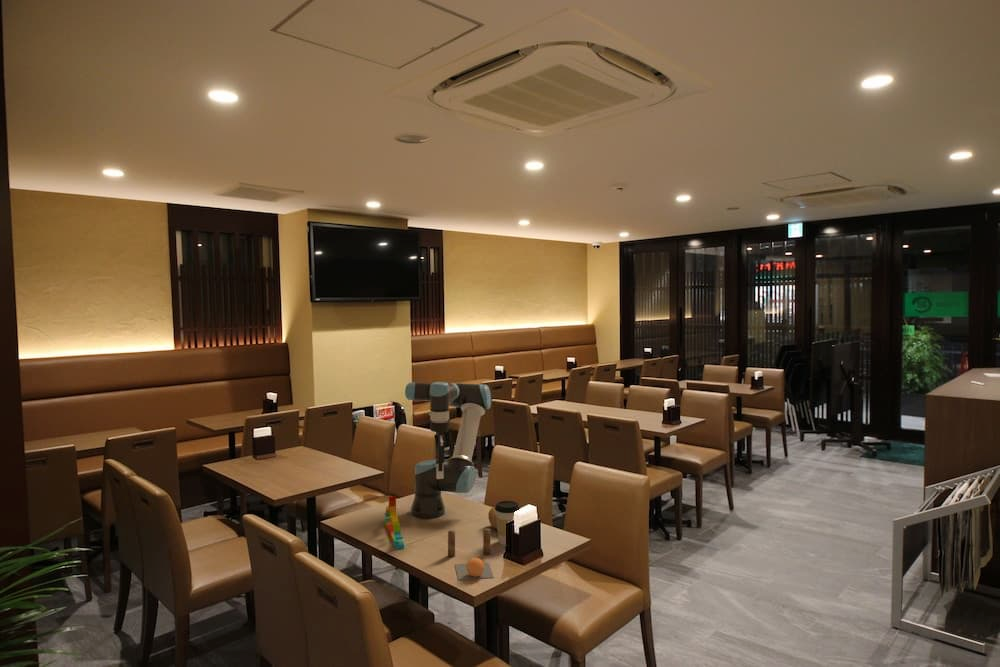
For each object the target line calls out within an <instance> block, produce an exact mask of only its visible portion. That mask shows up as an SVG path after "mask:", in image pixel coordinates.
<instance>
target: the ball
mask: <svg viewBox="0 0 1000 667" xmlns="http://www.w3.org/2000/svg"><path fill="white" fill-rule="evenodd" d="M483 563H484V562H483V561H482V559H481V558H478V557H472V558H470V559H469V560H468V561H467V563H466V564H467V572H468V574H469V575H471V576H473V577H478V576H480V575H481V574H482V573H483V571H484V564H483Z"/></svg>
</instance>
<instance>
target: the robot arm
mask: <svg viewBox="0 0 1000 667" xmlns="http://www.w3.org/2000/svg"><path fill="white" fill-rule="evenodd" d="M404 396H405V398H406V399H407V400H408V401H417V402H418V401H419V402H420V401H421V402H424V401H425V402H430V404H429V405H430V406H429V407H430V408H429V409H430V410H429V411H430V412H429V413H428V416H430V425H429V426H430V427H429V428H430V429H429V430H430V431H431V432H432V433H433V432H434V433H435V434H434V435H433V437H434V438H433V439H434V444H435V445H434V446H435V459H426V460H421V461H420V462H418V463H417V464H416V465H415V467H414V498H413V501H412V504H411V507H410V515H411V516H413V517H415V518H420V519H433V518H434V519H435V518H439V517H441V516H444V514H446V508H445V507H446V506H445V503H444V501H443V498H442V492H445V493H446V492H447V493H456V494H468V493H470V491H472V490H473V488H474V486H475V483H476V479H477V477H476V476H477V469H476V467H475V465H474V462H473V461H472V459H473V455H474V450H475V445H476V440H477V436H478V431H479V427H480V421H481V418H482V416H484V415H485V413H486V410H490V408H491V406H492V395H491V390H490V387H489V385H487V384H483V383H482V384H481V383H460V382H459V383H454V382H446V381H436V382H432V383H429V382H428V383H427V382H415V381H414V382H408V383H407V384H406V385H405V389H404ZM450 407H453V408H454V407H455V408H460V409H461V411H462V416H461V420H460V424H459V427H458V428H459V429H458V433H457V437H456V442H455V444H454V446H455V447H454V449H453V454H452V456H451V457H449V458H448V459H447V464H445V450H446V449H445V448H446V447H445V446H446V435H445V432H448V431H449V430H450V422H449V420H450Z"/></svg>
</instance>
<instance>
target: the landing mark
mask: <svg viewBox="0 0 1000 667" xmlns="http://www.w3.org/2000/svg"><path fill="white" fill-rule="evenodd" d="M483 564H484V571H483V573H482V574H481V575H480V576H478V577H473V576H471V575H469V574H468V572H467V563H455V564H454V565H455V566H454V567H455V572H456V577H457V580H458V581H463V580H464V581H465V580H467V581H468V580H478V579H479V580H480V579H481V580H482V579H494V578H495V577H494V575H493V574H494V573H493V571H492V568H491V566H490V563H489V562H483Z"/></svg>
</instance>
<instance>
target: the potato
mask: <svg viewBox="0 0 1000 667" xmlns="http://www.w3.org/2000/svg"><path fill="white" fill-rule="evenodd" d="M487 516H488V521H489V524H490V526H491V527H493V529H495V530H497V520H496V510H495V506H494V507H492V508H490V509H489V511H488V514H487Z"/></svg>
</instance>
